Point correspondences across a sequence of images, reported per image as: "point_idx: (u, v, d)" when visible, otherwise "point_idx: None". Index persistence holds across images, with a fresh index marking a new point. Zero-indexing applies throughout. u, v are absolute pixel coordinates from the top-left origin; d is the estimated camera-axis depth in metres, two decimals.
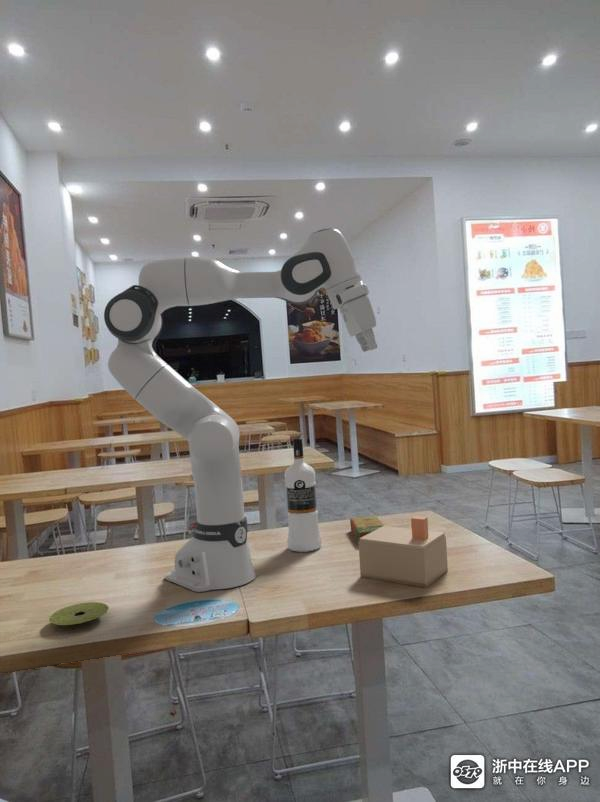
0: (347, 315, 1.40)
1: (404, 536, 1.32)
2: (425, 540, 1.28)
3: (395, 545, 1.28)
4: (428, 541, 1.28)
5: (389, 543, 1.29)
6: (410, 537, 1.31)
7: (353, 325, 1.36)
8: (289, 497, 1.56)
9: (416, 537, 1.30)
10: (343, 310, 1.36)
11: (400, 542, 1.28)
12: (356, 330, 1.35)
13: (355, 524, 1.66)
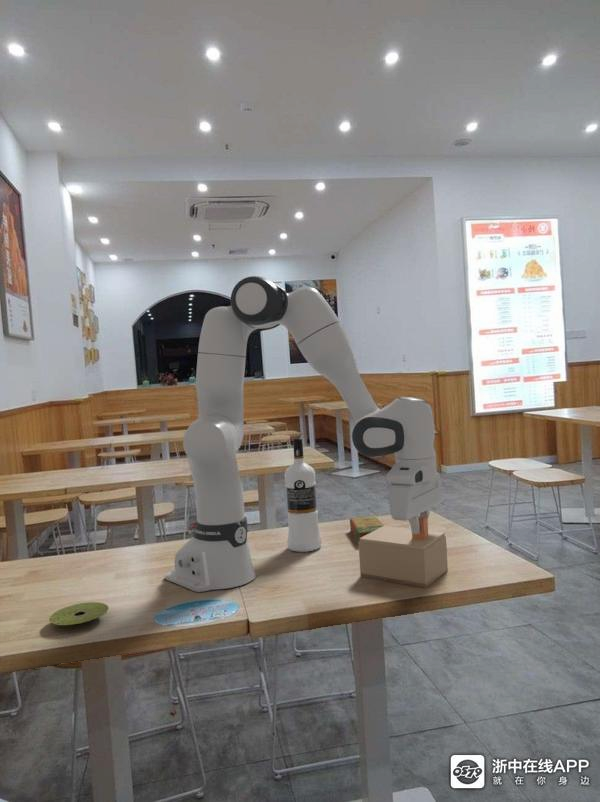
0: None
1: (404, 536, 1.32)
2: (425, 540, 1.28)
3: (395, 545, 1.28)
4: (428, 541, 1.28)
5: (389, 543, 1.29)
6: (410, 537, 1.31)
7: None
8: (289, 497, 1.56)
9: (416, 537, 1.30)
10: None
11: (400, 542, 1.28)
12: None
13: (355, 524, 1.66)
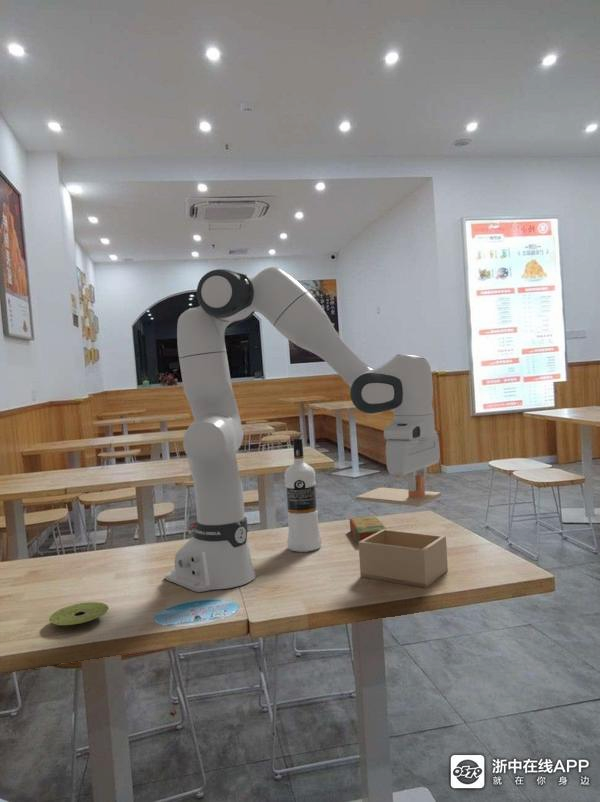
0: None
1: (400, 495, 1.32)
2: (421, 498, 1.28)
3: (391, 502, 1.28)
4: (424, 498, 1.27)
5: (385, 500, 1.29)
6: (406, 496, 1.31)
7: None
8: (289, 497, 1.56)
9: (412, 495, 1.30)
10: None
11: (396, 499, 1.28)
12: None
13: (355, 524, 1.66)
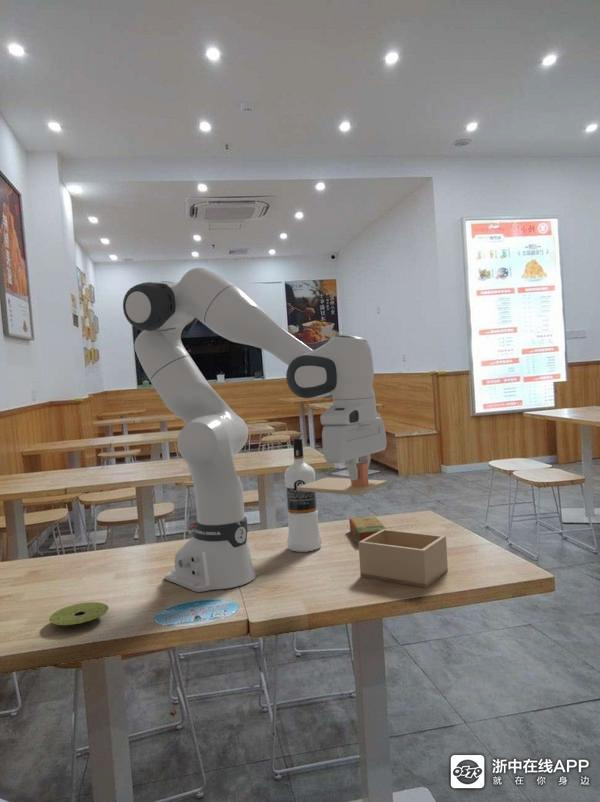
0: None
1: (343, 484, 1.24)
2: (364, 486, 1.20)
3: (332, 492, 1.20)
4: (366, 487, 1.19)
5: (326, 490, 1.21)
6: (349, 485, 1.23)
7: None
8: (289, 497, 1.56)
9: (355, 484, 1.22)
10: None
11: (337, 488, 1.20)
12: None
13: (354, 524, 1.66)
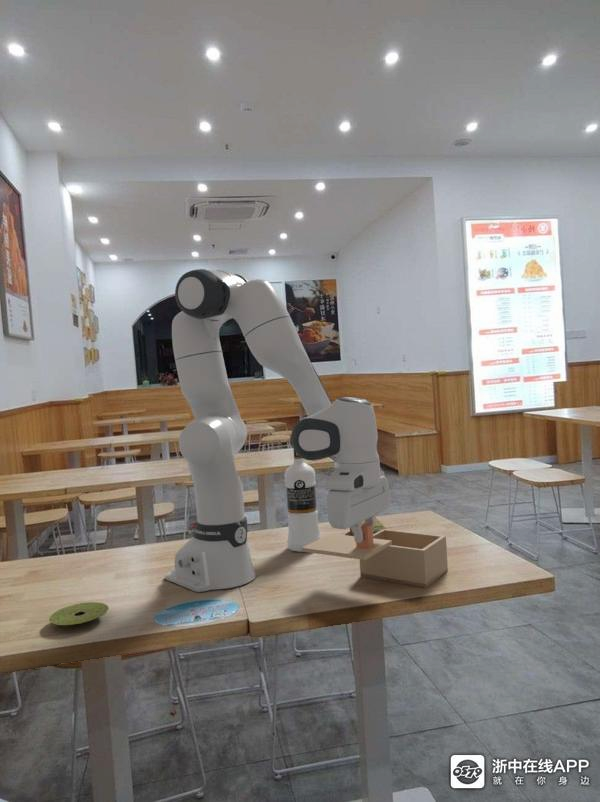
0: None
1: (348, 545, 1.25)
2: (369, 549, 1.21)
3: (337, 555, 1.20)
4: (372, 550, 1.20)
5: (331, 552, 1.21)
6: (354, 546, 1.24)
7: None
8: (289, 497, 1.56)
9: (360, 546, 1.23)
10: None
11: (342, 551, 1.21)
12: None
13: None
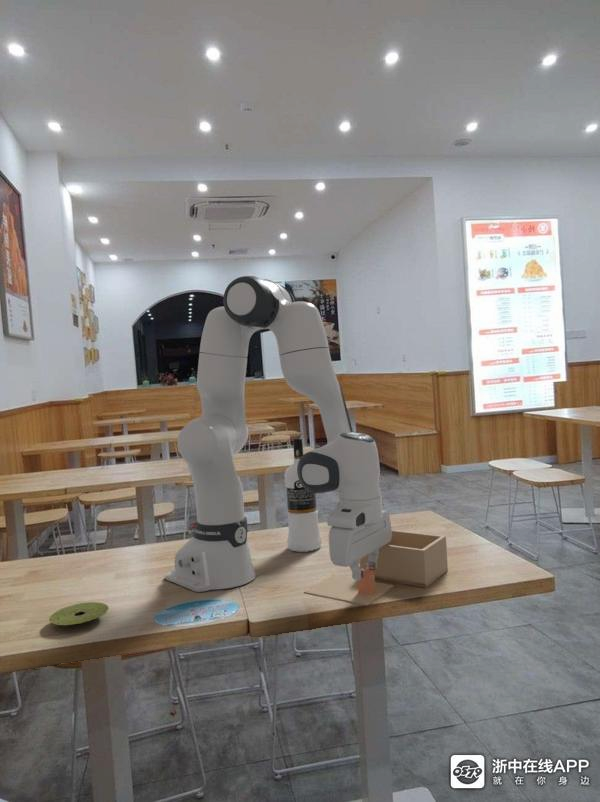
0: None
1: (350, 590, 1.25)
2: (371, 595, 1.21)
3: None
4: (374, 597, 1.20)
5: (333, 598, 1.22)
6: (356, 591, 1.24)
7: None
8: (289, 497, 1.56)
9: (362, 591, 1.23)
10: None
11: (344, 598, 1.21)
12: None
13: None
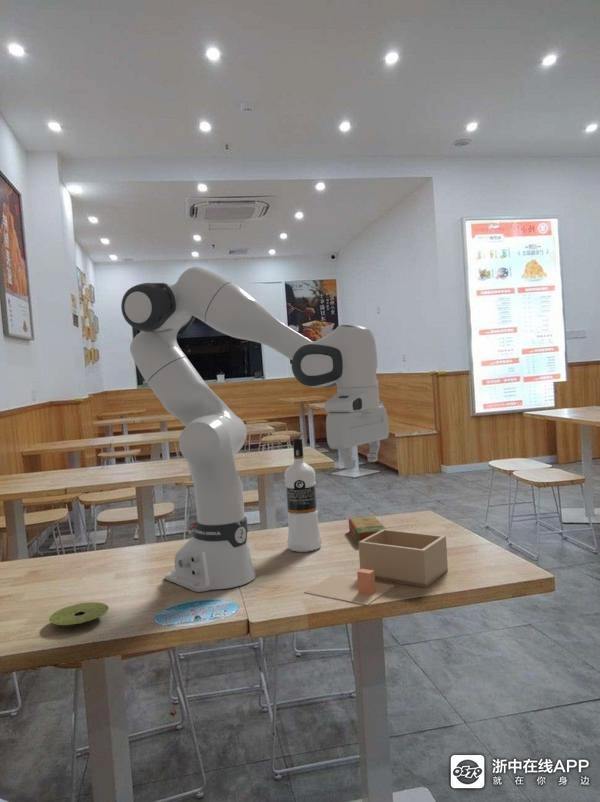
0: None
1: (350, 590, 1.25)
2: (371, 596, 1.21)
3: None
4: (374, 597, 1.20)
5: None
6: (356, 591, 1.24)
7: None
8: (289, 497, 1.56)
9: (362, 592, 1.23)
10: None
11: (344, 598, 1.21)
12: None
13: (354, 524, 1.66)
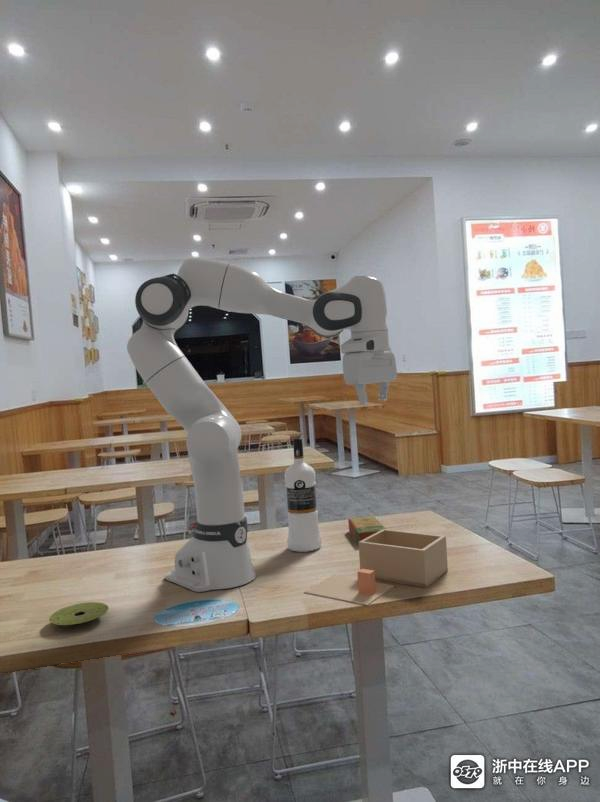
0: None
1: (350, 590, 1.25)
2: (371, 596, 1.21)
3: None
4: (374, 597, 1.20)
5: None
6: (356, 591, 1.24)
7: None
8: (289, 497, 1.56)
9: (362, 592, 1.23)
10: None
11: (345, 598, 1.21)
12: None
13: (354, 524, 1.66)
